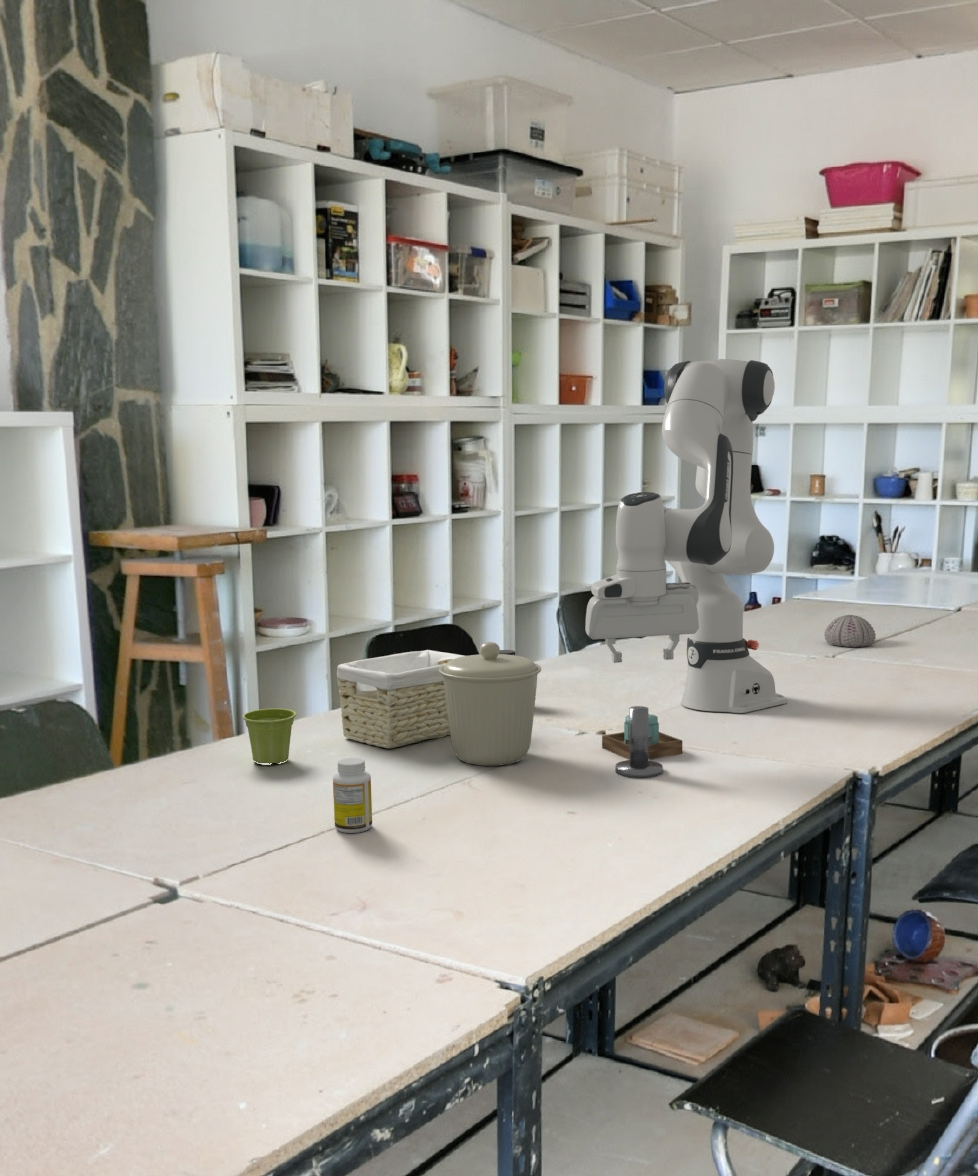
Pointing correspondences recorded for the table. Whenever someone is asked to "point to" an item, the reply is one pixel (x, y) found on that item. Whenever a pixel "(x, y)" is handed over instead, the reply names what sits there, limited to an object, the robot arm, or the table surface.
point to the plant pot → (270, 734)
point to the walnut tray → (661, 749)
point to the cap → (652, 729)
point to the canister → (490, 705)
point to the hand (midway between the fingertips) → (642, 660)
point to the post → (638, 748)
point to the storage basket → (394, 698)
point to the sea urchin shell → (850, 632)
